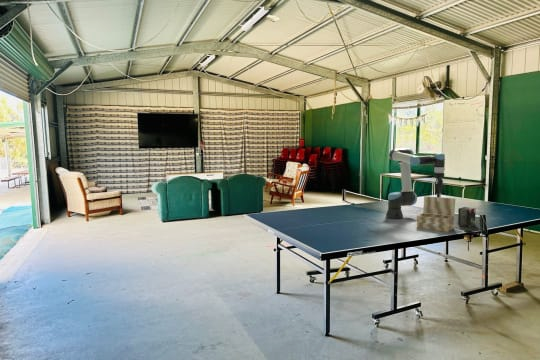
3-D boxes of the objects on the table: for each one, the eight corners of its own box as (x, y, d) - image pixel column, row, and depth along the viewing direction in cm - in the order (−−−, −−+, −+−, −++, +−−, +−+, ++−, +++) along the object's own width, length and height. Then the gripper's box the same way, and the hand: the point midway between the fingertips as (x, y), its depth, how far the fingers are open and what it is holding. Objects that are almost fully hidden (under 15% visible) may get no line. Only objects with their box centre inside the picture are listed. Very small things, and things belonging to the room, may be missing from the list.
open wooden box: (416, 227, 289) (416, 215, 288) (423, 224, 299) (423, 212, 298) (448, 231, 273) (448, 219, 272) (453, 228, 283) (454, 216, 282)
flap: (424, 196, 298) (424, 196, 299) (423, 212, 298) (423, 212, 299) (454, 198, 281) (455, 198, 282) (454, 216, 282) (454, 215, 283)
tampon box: (469, 227, 285) (469, 209, 283) (457, 225, 292) (458, 208, 291) (475, 225, 291) (476, 208, 290) (464, 223, 299) (464, 206, 297)
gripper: (441, 173, 280) (440, 202, 282) (446, 172, 289) (446, 200, 291) (431, 172, 285) (431, 201, 287) (437, 171, 294) (436, 199, 297)
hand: (438, 201), depth 289 cm, fingers closed
